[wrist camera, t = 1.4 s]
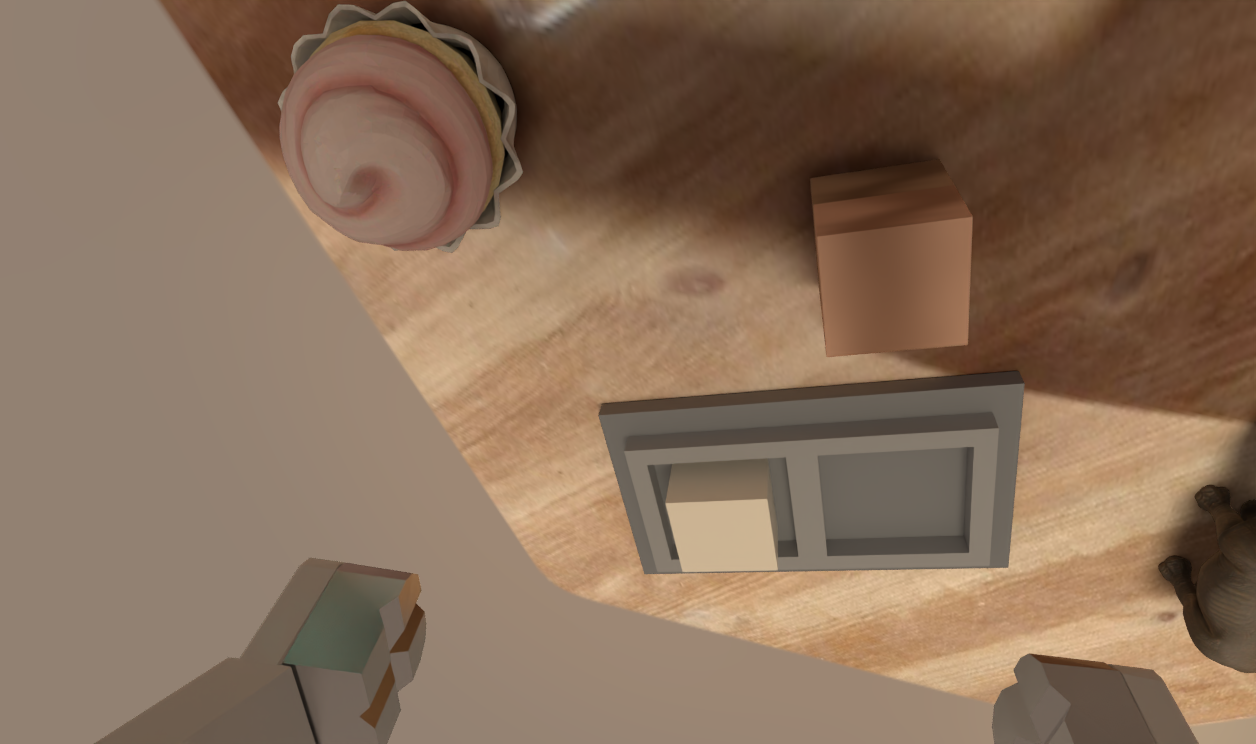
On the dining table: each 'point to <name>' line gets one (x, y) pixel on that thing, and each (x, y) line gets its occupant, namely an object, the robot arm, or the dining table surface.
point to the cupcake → (398, 129)
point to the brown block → (892, 259)
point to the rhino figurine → (1222, 585)
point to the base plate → (822, 476)
